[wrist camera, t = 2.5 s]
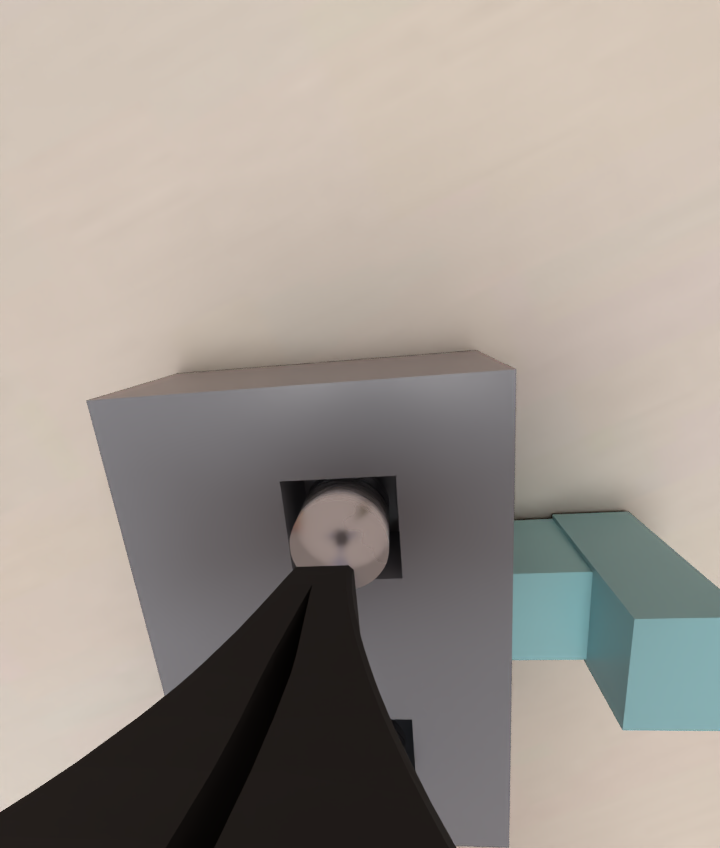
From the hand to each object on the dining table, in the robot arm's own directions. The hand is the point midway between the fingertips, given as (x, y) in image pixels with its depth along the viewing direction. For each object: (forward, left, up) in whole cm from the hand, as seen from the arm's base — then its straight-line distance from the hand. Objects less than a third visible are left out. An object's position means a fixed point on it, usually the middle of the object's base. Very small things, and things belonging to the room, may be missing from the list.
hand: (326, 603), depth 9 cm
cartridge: (-4, -4, -8) cm, 10 cm away
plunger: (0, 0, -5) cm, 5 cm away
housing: (-4, +1, -8) cm, 9 cm away
